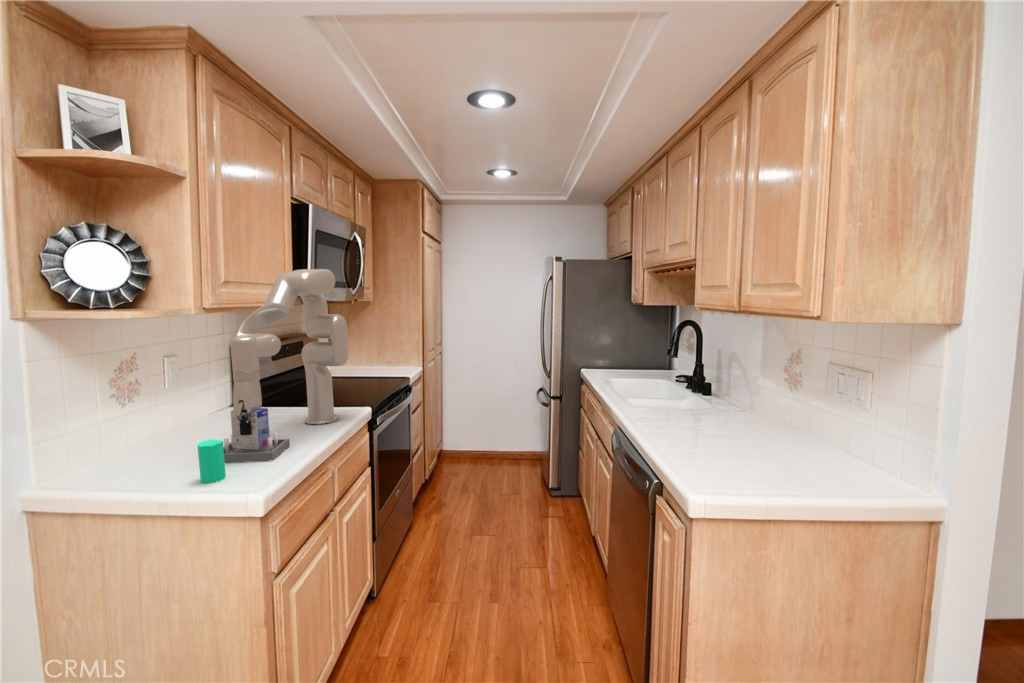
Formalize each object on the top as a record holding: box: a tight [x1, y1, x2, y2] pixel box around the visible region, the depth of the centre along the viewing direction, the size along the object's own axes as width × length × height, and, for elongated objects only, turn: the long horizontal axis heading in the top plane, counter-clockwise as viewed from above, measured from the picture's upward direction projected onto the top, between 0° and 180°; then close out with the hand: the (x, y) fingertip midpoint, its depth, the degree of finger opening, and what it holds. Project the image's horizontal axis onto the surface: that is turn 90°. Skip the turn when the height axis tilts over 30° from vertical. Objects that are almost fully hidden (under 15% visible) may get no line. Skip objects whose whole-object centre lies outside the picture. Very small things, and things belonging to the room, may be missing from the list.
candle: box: [197, 438, 227, 484], centre depth 136 cm, size 6×6×12 cm
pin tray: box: [223, 432, 291, 464], centre depth 157 cm, size 14×18×6 cm
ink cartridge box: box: [230, 407, 271, 450], centre depth 156 cm, size 10×6×14 cm, turn 79°
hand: (251, 430), depth 156 cm, fingers closed on ink cartridge box, 6 cm apart
